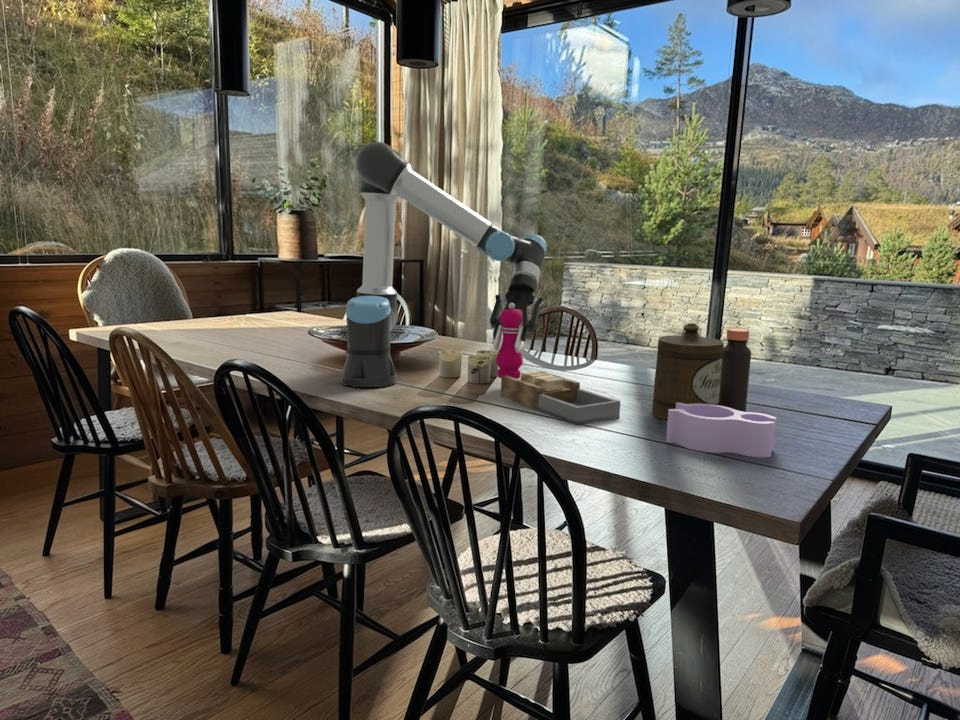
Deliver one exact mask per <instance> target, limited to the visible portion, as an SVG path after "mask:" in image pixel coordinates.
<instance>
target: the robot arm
mask: <svg viewBox="0 0 960 720" xmlns="http://www.w3.org/2000/svg"><path fill="white" fill-rule="evenodd" d="M355 167H356V168H355V169H356V172H357V174H358V176H359V177H360V191H359V192H360V195H361V197H362V198H363V199H364V201H365V205H364V206H365V208H364V209H365V212H364V233H363V234H364V236H363V259H362V261H363V262H362V263H363V264H362V285H361V286H360V287H359V288H357V289H356V297H352V298H350V299H349V300H348V301H347V303H346V309H345V314H346V342H347V343H346V344H347V346H346V347H347V349H346V350H347V355H346V359H345V362H344V364H343V365H344V366H343V368H342V373H341V376H340V377H341V378H340V379H341V382H342V383H343V384H346V385H349V386H355V387H379V388H382V387H381V386H386V387H389V386H388V385H391V386H393V385H395V384H396V383H397V381H398V379H397V378H398V377H397V371H396V369H395V368H396V367H395V365H394V363H393V362H394V361H393V359H392V356H391V332H392V331H394V329H395V327H396V326H397V323H398V319H399V312H398V311H399V310H398V308H397V305H398V304H397V303H398V301H397V300H398V292H397V290H396V289H395V288H394V287H393V282H394V281H393V280H394V279H393V278H394V260H395V259H394V258H395V257H394V256H395V237H396V236H395V234H396V233H395V232H396V216H397V215H396V211H397V202H398V201H399V200H400V199H402V200H404V201H406V202H407V203H408V204H411V206H414V208H416V209H418V210H420V211H421V212H422V213H424V214H426V215H427V216H429V217H430V218H432V219H434V220H435V221H436V222H438V223H439V224H441V225H443V226H444V227H445V228H447V229H448V230H449V231H451V232H453V233H455V234H456V235H458V236H459V237H461V238H462V239H463V240H465V241H467V242H468V243H469V244H471V245H473V246H475V247H476V249H477V250H476V251H478V252H479V253H481V254H483V255H485V256H488V257H489V258H491V259H493V260H494V261H497V262H502V261H505V262H507V263H510V264H512V265H514V269H513V272H512V276H511V279H510V283H509V286H508V291H507V292H506V293H505V294H504V295H500V294H495V303H494V307H493V309H492V312H491V316H490V319H489V324H490V327H491V328H492V329H494V330H493V333H492V336H493V339H494V340H495V341H494V340H493V342H494V344H492V346H493V345H494V348H495V351H498V349H499V345H500V342H501V338H502V335H503V332H501V330H502V328H501V327H503V325H502V324H501V322H500V315H501V312H503V311H504V310H506V309H509V307H508V305H509V304H510V303H514V304H515V308H514V309H516V310H518V311H521V312H522V313H521V314H522V326H519V327H520V328H519V332H518V335H517V339H516V343H515V350H516V353H519V351H521V349H520V347H521V343H522V341H523V342H526V341H527V338H528V333H529V332H535V331H536V329H537V326H538V321H539V316H540V312H541V310H542V308H543V307H544V300H543V299H544V298H543V297H542V296H541V297H536V293H537V288H538V283H539V281H540V276H541V273H542V269H543V265H544V262H545V258H546V256H547V255H546V253H547V248H548V247H547V242H546V240H545V239H544V238H543V237H542V236H540V235H538V234H527V235H525V236H524V237H523V238H520V237H517V236H514V235H511V234H509V232H506V231H505V230H502V228H500V227H498V226H497V225H495V224H493V223H491V221H489V220H488V219H486V218H485V217H484V216H481V214H479V213H478V212H476V211H474V210H472V209H471V208H470V207H468V206H467V205H466V204H464V203H462V202H461V201H459V200H458V199H456V197H453V196H452V195H451V194H449V193H447V192H446V191H444V190H443V189H442V188H440V187H438V186H437V185H435V184H434V183H432V182H431V181H429V180H428V179H426V178H425V177H423V176H422V175H420V174H419V173H418V172H416V171H415V170H413V167H412V164H411V163H410V162H408V161H407V160H405V159H404V158H402V156H401V154H400V153H399V152H398V151H396V150H395V149H393V147H391V146H390V145H389V144H387V143H384V142H381V141H373V142H369V143H367V144H365V145H364V146H362V147H361V148H360V150H359V151H358V153H357V156H356V159H355ZM505 301H506V305H505V307H504V309H503V310H502V305H504V302H505ZM533 303H534V306H533V310H532V314H531V319H530V323H529V316H528V314H529V309H528V308H529V307H530V306H531V305H532V304H533ZM501 310H502V311H501ZM342 383H341V384H342ZM394 383H395V384H394ZM343 384H342V385H343ZM392 384H393V385H392ZM349 386H348V387H349ZM355 387H354V388H355Z"/></svg>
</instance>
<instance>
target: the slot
mask: <svg viewBox="0 0 960 720" xmlns="http://www.w3.org/2000/svg"><path fill="white" fill-rule="evenodd" d="M539 372H542V373H545V374H549V375H552V376H555V377H559V378H562V379H564V381H563V389H559V390H551V391H545V390H543V387H540V386H537V385H534V384H531V383H528V382H525V381H522V380H521V378H518V379H516V378H513V377H510V376H507V375H504V376H501V378H500V384H501V386H500V397H501V396H502V397H501V398H503V397H504V399H506V398H507V399H506V400H508V399H509V401H511V400H512V401H511V402H513V403H516V402H517V403H516V404H520V405H521V404H522V406H525V407H526V408H530V409H532V410H535V411H538V398H539V394H544V395H547V396H550V397H553V398H556V399H559V400H561V401H564V402H567V403H572V402H576V398H577V389H581V387H580V385H581V383H580V381H576V380H572V379H569V378H567V377H566V378H565V377H562V376H559V375H556V374H552V373H550V372H546V371H543V370H539Z"/></svg>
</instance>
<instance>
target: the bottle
mask: <svg viewBox="0 0 960 720" xmlns="http://www.w3.org/2000/svg"><path fill="white" fill-rule="evenodd" d="M726 330H727V331H726V342H727V343H726V345H724V346H723V355H722V368H721V383H720V394H719V403H718V405H720V406H725V407H729V408H732V409H735V410H738V411H743V412H747V402H748V401H747V399H748V390H749V381H750V380H749V379H750V371H751V370H750V369H751V360H752V359H751V358H752V351H751V349H750V348H749V347H748V346H747V343H749V337H750V330H748V329H745V328H728V329H726Z"/></svg>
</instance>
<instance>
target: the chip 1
mask: <svg viewBox="0 0 960 720" xmlns="http://www.w3.org/2000/svg"><path fill="white" fill-rule="evenodd" d="M539 371H540V370H539ZM539 371H538V370H534V371H523V372H521V373H520V379H521V380H522V381H525V382H528V383H531V384H534V385H535V377H540V376H549V374H545V373H542V372H539Z"/></svg>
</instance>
